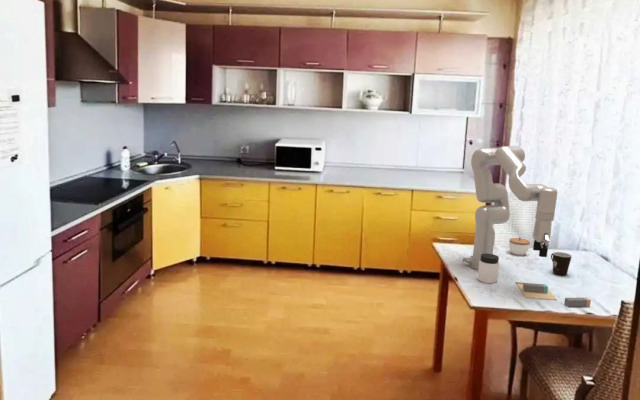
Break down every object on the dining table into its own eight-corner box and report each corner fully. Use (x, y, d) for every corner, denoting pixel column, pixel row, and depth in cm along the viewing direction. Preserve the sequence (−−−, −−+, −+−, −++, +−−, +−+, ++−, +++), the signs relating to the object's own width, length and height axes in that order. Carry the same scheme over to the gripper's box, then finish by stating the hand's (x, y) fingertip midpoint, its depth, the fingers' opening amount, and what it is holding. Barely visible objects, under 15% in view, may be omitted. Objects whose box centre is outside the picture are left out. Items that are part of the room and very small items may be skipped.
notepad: (525, 297, 248) (526, 296, 248) (515, 283, 266) (515, 282, 266) (556, 300, 247) (556, 299, 247) (544, 285, 265) (544, 284, 265)
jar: (476, 281, 266) (479, 257, 263) (477, 276, 273) (480, 252, 271) (496, 284, 263) (499, 259, 261) (497, 279, 271) (499, 254, 268)
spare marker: (568, 307, 239) (569, 300, 239) (564, 304, 242) (565, 297, 242) (589, 306, 241) (590, 300, 241) (585, 304, 244) (586, 297, 243)
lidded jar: (504, 250, 320) (506, 234, 318) (522, 251, 321) (524, 235, 320) (513, 256, 310) (515, 239, 308) (531, 256, 311) (533, 240, 309)
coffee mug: (570, 277, 279) (573, 257, 277) (552, 275, 280) (554, 256, 278) (565, 270, 290) (568, 251, 288) (547, 268, 292) (550, 249, 290)
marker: (524, 291, 255) (525, 285, 254) (522, 289, 258) (523, 282, 257) (547, 293, 254) (548, 287, 253) (545, 291, 257) (546, 284, 256)
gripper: (530, 210, 258) (526, 247, 261) (541, 219, 241) (536, 258, 244) (548, 212, 257) (542, 248, 260) (559, 221, 240) (554, 260, 244)
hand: (539, 253), depth 252 cm, fingers open, 9 cm apart
